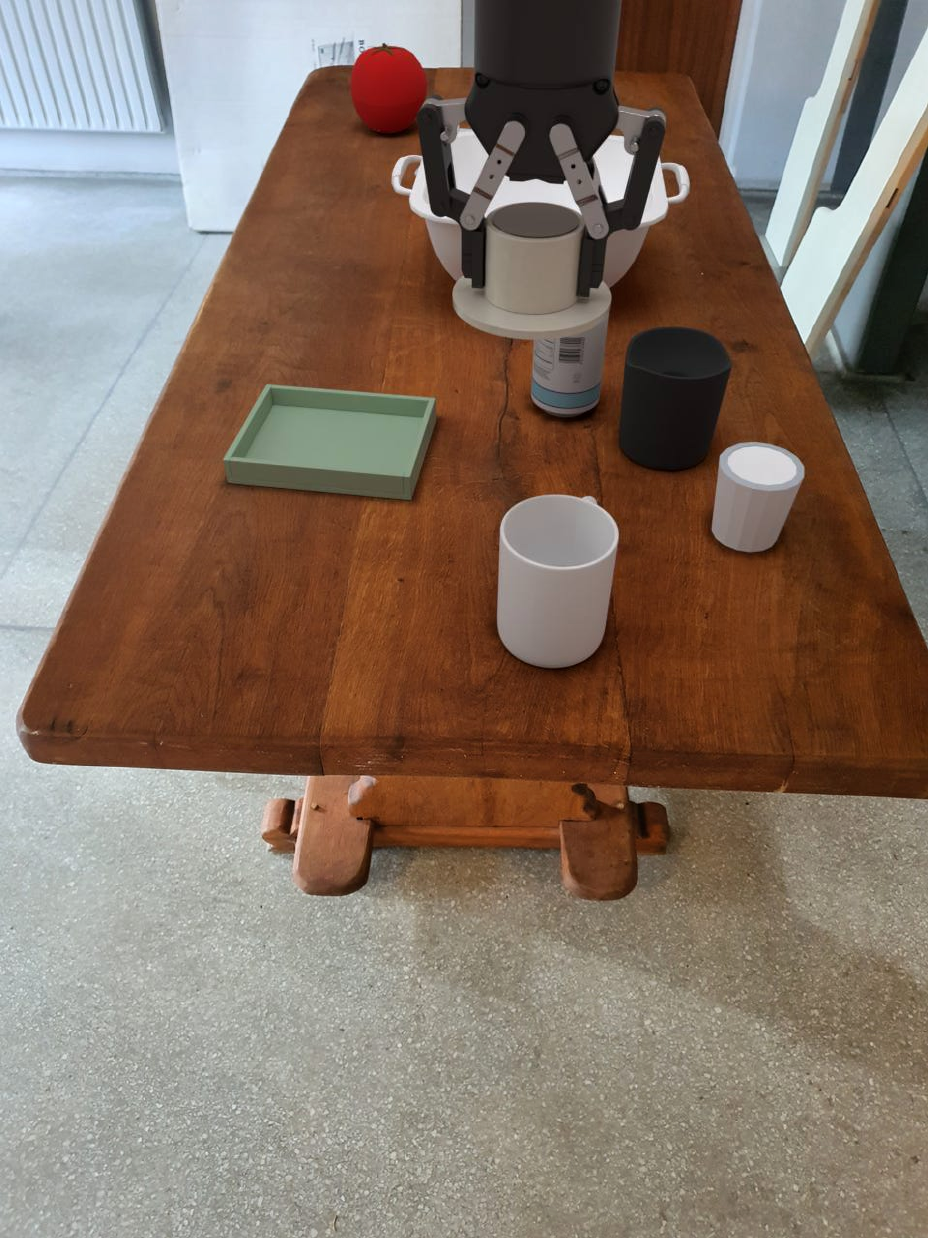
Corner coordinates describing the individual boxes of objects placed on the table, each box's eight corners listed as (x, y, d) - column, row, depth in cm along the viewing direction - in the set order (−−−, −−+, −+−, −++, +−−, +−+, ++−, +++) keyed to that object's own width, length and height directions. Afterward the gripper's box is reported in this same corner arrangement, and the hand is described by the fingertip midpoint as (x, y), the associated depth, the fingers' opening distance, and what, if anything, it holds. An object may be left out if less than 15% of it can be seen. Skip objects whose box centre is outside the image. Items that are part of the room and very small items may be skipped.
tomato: (348, 140, 153) (341, 52, 144) (359, 117, 161) (352, 32, 152) (424, 142, 152) (422, 53, 143) (431, 118, 160) (429, 33, 152)
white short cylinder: (792, 519, 83) (812, 452, 78) (775, 565, 79) (796, 498, 74) (714, 499, 85) (730, 432, 80) (695, 543, 81) (709, 476, 76)
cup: (478, 649, 72) (480, 547, 65) (539, 556, 79) (547, 456, 72) (581, 685, 69) (594, 583, 62) (633, 585, 77) (650, 484, 70)
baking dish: (665, 233, 126) (680, 131, 118) (681, 336, 106) (701, 223, 97) (412, 225, 129) (408, 124, 120) (381, 324, 108) (374, 212, 99)
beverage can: (610, 398, 97) (623, 286, 89) (578, 430, 93) (589, 316, 85) (551, 379, 100) (559, 269, 91) (517, 409, 96) (522, 296, 87)
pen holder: (730, 442, 91) (752, 348, 84) (680, 487, 86) (699, 391, 79) (647, 408, 96) (662, 316, 89) (595, 449, 91) (606, 354, 84)
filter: (439, 332, 57) (437, 247, 53) (466, 262, 64) (466, 183, 60) (605, 346, 56) (615, 259, 52) (614, 273, 63) (623, 192, 59)
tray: (227, 483, 87) (222, 459, 85) (270, 406, 96) (266, 383, 94) (411, 500, 85) (409, 476, 83) (436, 420, 94) (435, 397, 92)
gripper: (393, -24, 46) (407, 306, 57) (695, -12, 44) (646, 325, 56) (423, -53, 51) (430, 254, 63) (694, -44, 49) (649, 270, 61)
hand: (532, 286), depth 59 cm, fingers closed on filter, 6 cm apart
